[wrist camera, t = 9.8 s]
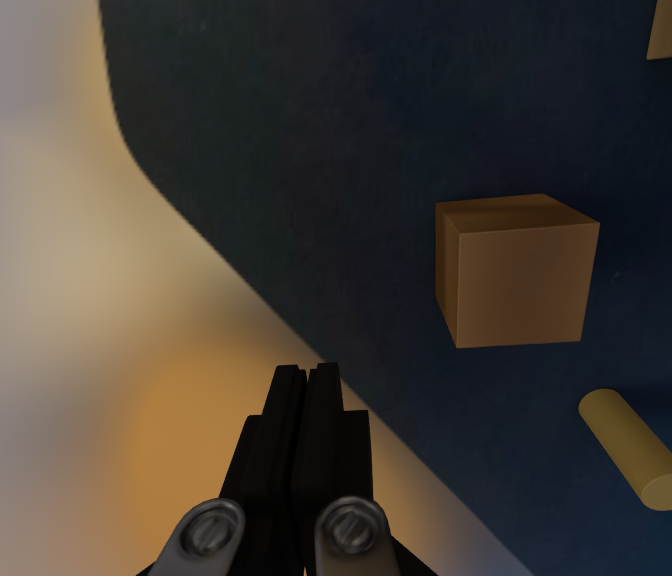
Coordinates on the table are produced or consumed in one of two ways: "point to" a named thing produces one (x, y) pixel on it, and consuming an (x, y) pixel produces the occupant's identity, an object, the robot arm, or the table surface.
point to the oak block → (513, 269)
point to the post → (630, 446)
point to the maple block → (661, 32)
